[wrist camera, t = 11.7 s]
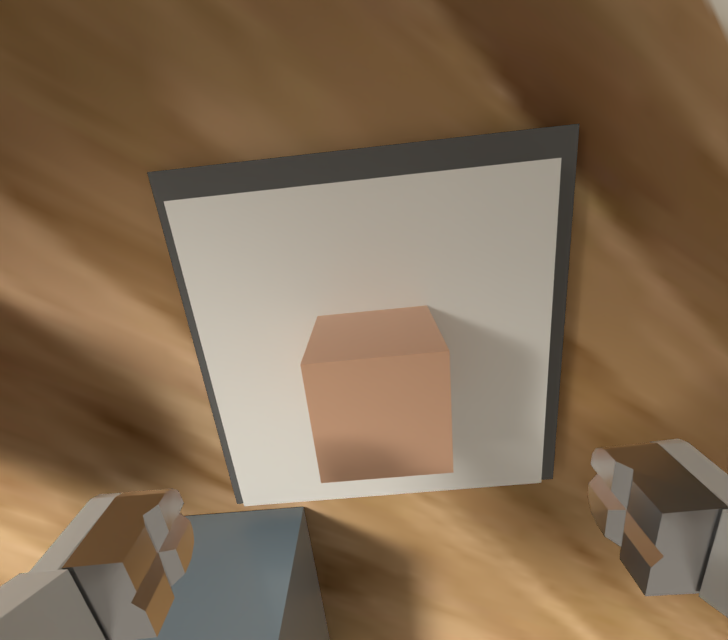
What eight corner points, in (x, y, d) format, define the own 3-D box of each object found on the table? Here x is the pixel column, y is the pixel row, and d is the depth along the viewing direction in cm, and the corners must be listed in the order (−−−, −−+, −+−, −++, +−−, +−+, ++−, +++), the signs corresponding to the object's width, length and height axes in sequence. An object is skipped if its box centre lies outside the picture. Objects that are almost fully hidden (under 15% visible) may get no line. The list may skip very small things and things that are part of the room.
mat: (154, 172, 14) (147, 172, 14) (572, 125, 14) (579, 123, 13) (240, 495, 19) (237, 503, 19) (548, 471, 19) (552, 478, 18)
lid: (179, 199, 14) (80, 209, 9) (545, 159, 14) (647, 147, 9) (251, 486, 18) (210, 596, 13) (530, 463, 18) (592, 570, 13)
